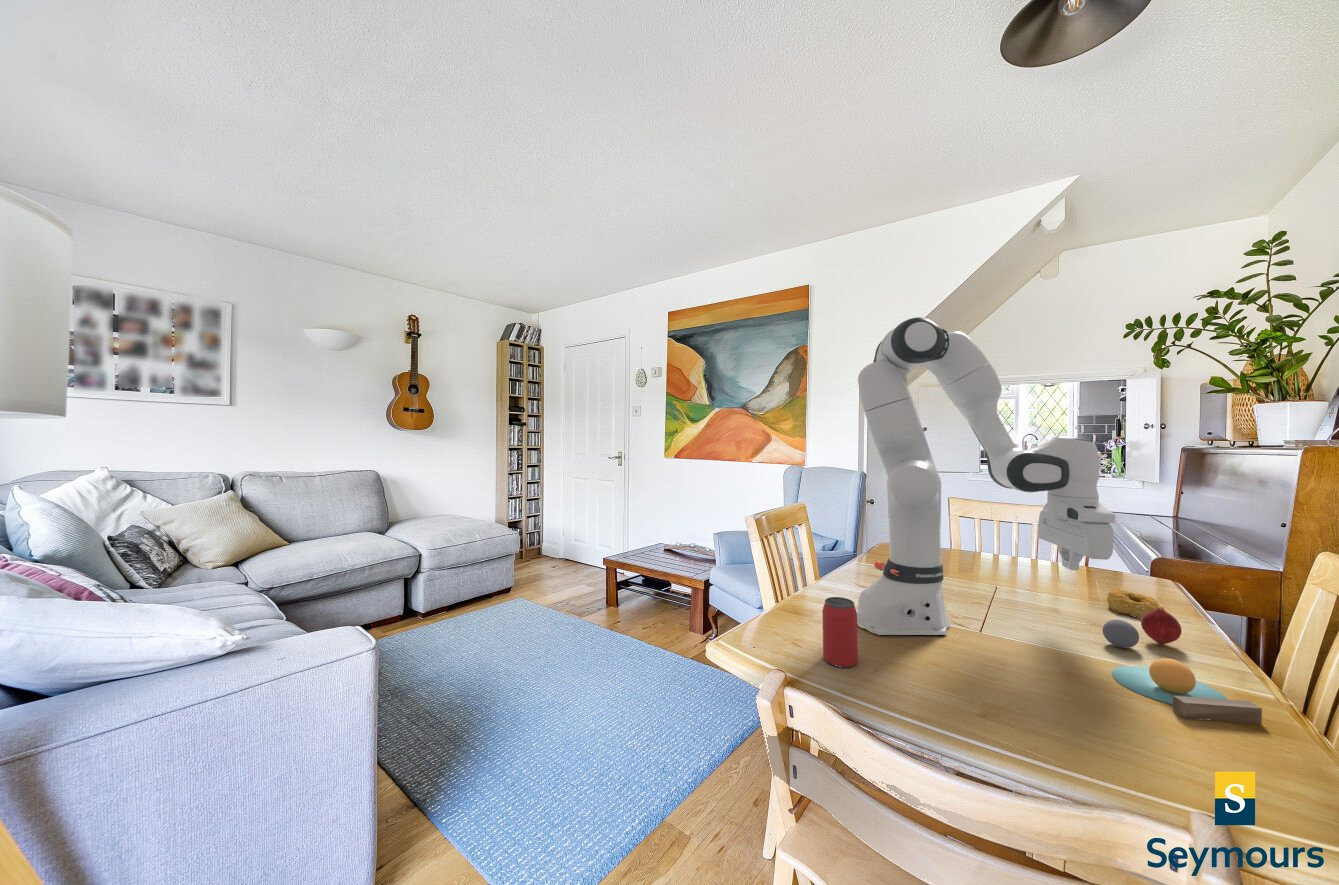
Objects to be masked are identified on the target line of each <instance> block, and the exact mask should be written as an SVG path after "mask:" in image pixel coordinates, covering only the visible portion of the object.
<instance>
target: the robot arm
mask: <svg viewBox="0 0 1339 885" xmlns="http://www.w3.org/2000/svg"><path fill="white" fill-rule="evenodd" d="M876 347H877V348H876V349H875V353H874V359H873V362H872V363H869V364H867V365H866V366H865V367H864V368H862V369H861V371H860V372H859V374H858V375H857V383H858V384H857V385H858V391H859V396H860V401H861V406H862V408H863V412H864V415H865V417H866V421H867V423H868V428H869V430H870V433H871V436H872V438H873V442H874V445H875V447H876V449H877V451H878V455H879V456H880V459H881V462H882V465H883V467H884V470H885V473H886V476H887V482H886V486H887V487H886V489H887V490H886V491H887V492H886V493H887V494H886V495H887V513H888V514H887V515H888V518H887V519H888V544H889V546H888V547H889V548H888V551H889V552H888V554H889V555H888V556H889V558H888V559H887V560H886V563H884V562H882V561H880V560H876V561H875V562H874V563H873V567H874V568H875V569H876V570H879V571H881V572H882V575H881V576H880V577H878V578H877V579H876V580H874V582H871V584H870V585H869V586H867V587H866V588H864V589H863V590H862V591H861V592H860V595H859V598H858V604H857V608H855V609H856V612H857V623H858V624H859V625H860V626H862V627H864V628H866V629H867V630H870V631H872V632H874V633H877V634H881V635H945V636H947V635H946V634H948V633H947V629H948V628H950V627H951V623H950V621H949V618H948V615H947V611H946V605H945V600H944V594H943V581H944V566H943V563H942V559H941V558H942V548H941V547H942V546H941V545H942V544H941V543H942V542H941V541H942V540H941V537H942V536H941V534H942V533H941V532H942V531H941V527H942V526H941V525H942V524H941V523H942V481H941V477H940V475H939V472H938V471H937V470H938V469H937V467H936V464H935V461H934V459H933V456H932V453H931V450H930V449H931V448H930V447H929V443H928V441H927V438H926V434H925V432H924V429H923V426H922V423H921V420H920V417H919V414H918V412H917V408H916V406H915V403H914V400H913V398H912V394H911V391H910V390H909V387H908V375H909V374H908V373H909V372H911V371H913V370H915V369H918V368H921V367H922V368H925V369H927V370H928V371H930V372H931V373H932V374H933V376H935V377H936V379H937V382H938V384H939V385H940V387H941V388H942V390H943V391H944V393H945V394H946V395H947V397H948V399H949V400H950V401H951V402H952V404H954V406H955V407H956V408H957V410H958V411H959V413H961V415H962V416H963V417H964V418H965V420H966V421H967V422H968V425H969V426H970V427H971V430H972V431H973V433H974V434H975V437H976V438H977V440H978V442H979V444H980V445H981V447H982V449H983V451H984V452H985V455H986V460H987V470H988V472H987V473H988V474H989V476H990V479H991V480H993V482H994V483H995V484H996V485H998V486H1000V487H1002V488H1006V489H1009V490H1010V489H1011V490H1015V491H1020V492H1024V493H1039V492H1047V498H1046V499H1047V502H1046V504H1045V505H1043V508H1042V510H1041V511H1040V512H1039V516H1038V521H1037V522H1038V523H1037V531H1036V532H1037V536H1038V538H1039V539H1041V540H1043V541H1045V542H1047V543H1050V544H1053V545H1055V546H1058V553H1059V554H1060V558H1061V565H1062V567H1063V568H1066V569H1069V570H1070V571H1079V569H1080V563H1081V562H1082V559H1084V557H1085V558H1088V559H1092V560H1109V559H1111V557H1112V556H1113V551H1114V539H1115V538H1114V537H1115V536H1114V533H1115V532H1114V529H1113V526H1112V525H1111V524H1115V521H1116V515H1115V513H1114V512H1113V511H1111V510H1110V509H1108V508H1107V507H1106V506H1105V505H1103V504H1102V503H1101V502H1099V498H1100V496H1099V492H1098V489H1097V486H1098V482H1099V479H1100V457H1099V450H1098V447H1097V445H1096V444H1095V443H1094V442H1093V441H1091V440H1089V439H1087V438H1086V439H1085V438H1081V437H1073V436H1066V435H1065V436H1064V435H1059V436H1054V437H1052V438H1051V439H1049V440H1048V441H1046V442H1044V443H1042V444H1040V445H1036V446H1034V447H1030V448H1027V449H1023V448H1021V447H1019V446H1018V445H1017V444H1016V443H1015V442H1014V441H1013V439H1012V438H1011V436H1010V434H1009V433H1008V431H1007V429H1006V427H1005V426H1004V423H1003V422H1002V420H1001V419H1000V416H999V413H998V403H999V400H1000V397H1001V394H1002V389H1003V387H1002V384H1001V381H1000V379H999V376H998V374H997V372H996V370H995V368H994V367H993V365H992V364H991V363H990V361H989V359H988V358H987V357H986V355H985V354H984V353H983V351H982V350H981V349H980V347H979V346H978V344H976V342H974V340H972V339H971V338H970V337H969V336H968V335H966V333H964V332H962V331H950V332H947V330H945V329H944V328H942V327H940V326H939V324H937V323H935V322H934V321H932V320H931V319H929V318H925V317H919V316H918V317H912V318H908V319H906V320H904V321H902V322H900V323H899V324H898V325H897V326H896V327H895V328H892V329H891V330H890V331H888V333H887V334H886V335H885V336H884V338H883V339H882V340H880V342H879V343H878V345H877V346H876Z"/></svg>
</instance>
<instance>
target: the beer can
mask: <svg viewBox="0 0 1339 885" xmlns="http://www.w3.org/2000/svg"><path fill="white" fill-rule="evenodd" d="M856 609H857V608H856V607H855V601H853V600H852V599H850V598H846V597H841V596H830V597H826V599H824V604H823V607H822V657H823V659H824V660H826V661H827V663H828V662H829V663H831V664H833V665H837V666H841V667H840V668H843V667H845V668H851V667H850V666H852V667H854V666H856V664H857V663H858V662H859V656H858V655H859V652H858V651H859V649H858V642H859V640H858V635H859V634H858V625H857V612H856ZM826 661H825V662H826ZM829 663H828V664H829ZM831 664H830V665H831ZM833 665H832V666H833ZM837 666H836V667H837Z"/></svg>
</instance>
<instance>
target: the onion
mask: <svg viewBox="0 0 1339 885" xmlns="http://www.w3.org/2000/svg"><path fill="white" fill-rule="evenodd" d="M1140 622H1141V623H1140V626H1141V628H1142V629H1143V631H1144V633H1145V634H1146V635H1147V636H1148V637H1149V638H1150V639H1151V640H1153V641H1154V642H1155V643H1156V644H1158V645H1161V644H1163V645H1162V646H1164V645H1166V644H1169V643H1173V642H1175V641H1178V640H1179V638H1180V637H1181V634H1182V626H1181V624H1180V623H1179V621H1178V619H1177V618H1175V616H1173V614H1171V613H1169V612H1168V611H1166V610H1165V609H1164V607H1163V606H1162V605H1160V606H1158V607H1157V609H1156V610H1154V611H1151V612H1149V613H1147V614H1146V615H1145V616H1144V617H1143V618H1142V619H1141V621H1140Z"/></svg>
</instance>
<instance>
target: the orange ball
mask: <svg viewBox="0 0 1339 885" xmlns="http://www.w3.org/2000/svg"><path fill="white" fill-rule="evenodd" d="M1148 668H1149V673H1150V676H1151V678H1152V680H1153V681H1154V682H1155V683H1156V684H1157V685H1158V686H1159V687H1160V688H1162V689H1164V690H1166V691H1168V692H1171V693H1175V694H1185V693H1188V692H1190V691H1192V690H1193V689H1194V687H1195V685H1196V681H1197V679H1196V677H1195V674H1194V672H1193V671H1192V670H1191V669H1190V668H1189V666H1187V665H1186V664H1184V663H1183V662H1180V661H1179V660H1176V659H1173V658H1165V657H1164V658H1159V659H1158V658H1157V659H1155V660H1154V661H1152V662H1151V663H1150V666H1149V667H1148Z"/></svg>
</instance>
